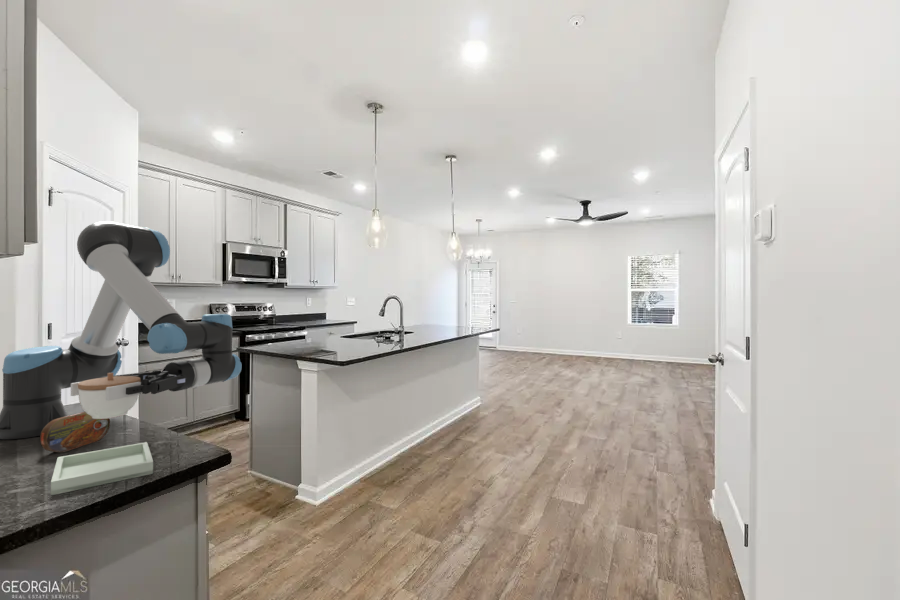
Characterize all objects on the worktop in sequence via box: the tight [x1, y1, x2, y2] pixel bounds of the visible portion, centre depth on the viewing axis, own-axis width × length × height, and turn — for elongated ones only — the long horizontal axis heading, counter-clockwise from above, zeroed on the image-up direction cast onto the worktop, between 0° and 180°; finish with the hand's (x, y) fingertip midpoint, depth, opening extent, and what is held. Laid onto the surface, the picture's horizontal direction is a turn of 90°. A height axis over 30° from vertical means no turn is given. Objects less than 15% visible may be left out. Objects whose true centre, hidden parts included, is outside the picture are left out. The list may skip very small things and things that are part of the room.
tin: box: [39, 410, 111, 453], centre depth 106 cm, size 15×3×8 cm, turn 168°
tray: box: [50, 441, 154, 496], centre depth 90 cm, size 16×16×3 cm
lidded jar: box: [78, 373, 141, 419], centre depth 91 cm, size 11×11×9 cm
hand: (89, 391), depth 88 cm, fingers closed on lidded jar, 11 cm apart
